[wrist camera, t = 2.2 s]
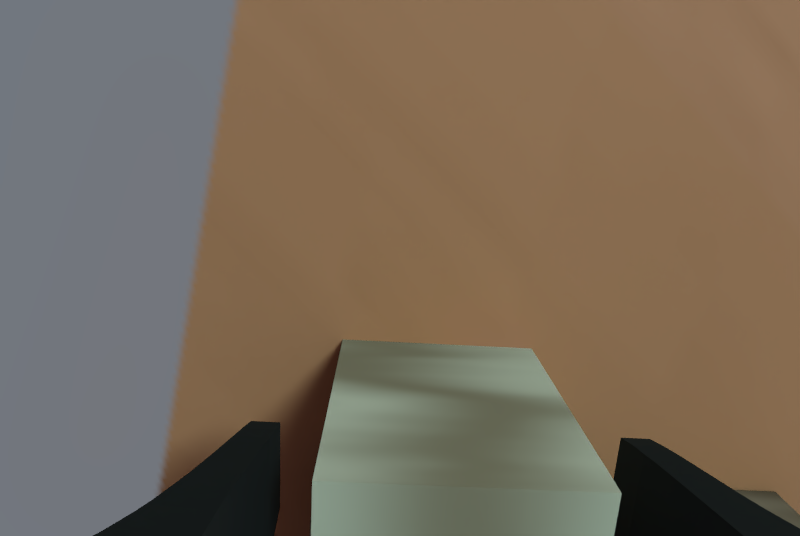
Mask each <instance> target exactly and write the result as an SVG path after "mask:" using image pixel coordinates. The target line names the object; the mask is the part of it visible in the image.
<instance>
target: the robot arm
mask: <svg viewBox="0 0 800 536" xmlns="http://www.w3.org/2000/svg"><path fill="white" fill-rule="evenodd" d="M614 482H615V483H616V485H617V486H618V488H619V490H620V491H621V493H622V495H621V500H620V506H619V511H618V517H617V522H616V528H615V533H614V536H800V528H798V527H796V526H794V525H793V524H791V523H789V522H787V521H786V520H784V519H782V518H780V517H779V516H777V515H775V514H773V513H772V512H770V511H768V510H766V509H765V508H763V507H761V506H760V505H758V504H756V503H755V502H753V501H751V500H750V499H748V498H746V497H745V496H743V495H741V494H740V493H738V492H736V491H735V490H733V489H732V488H730V487H728V486H727V485H725V484H724V483H722V482H720V481H719V480H717V479H716V478H714V477H712V476H711V475H709V474H708V473H706V472H704V471H703V470H701V469H700V468H698V467H697V466H695V465H693V464H692V463H690V462H689V461H687V460H685V459H684V458H682V457H681V456H679V455H677V454H676V453H674V452H672V451H671V450H669V449H667V448H666V447H664V446H662V445H660V444H658V443H656V442H654V441H652V440H650V439H637V438H621V441H620V446H619V452H618V457H617V463H616V469H615V474H614ZM279 509H280V422H257V421H251V422H249V423H248V424H247V425H246V426H244V427H243V428H242V429H241V430H240V431H239V432H237V433H236V434H235V435H234V436H233V437H232V438H230V439H229V440H228V441H227V442H226V443H225V444H223V445H222V446H221V447H220V448H219V449H218V450H216V451H215V452H214V453H213V454H212V455H211V456H209V457H208V458H207V459H206V460H204V461H203V462H202V463H201V464H199V465H198V466H197V467H196V468H195V469H193V470H192V471H191V472H190V473H188V474H187V475H186V476H184V477H183V478H181V479H180V480H179V481H177V482H176V483H175V484H173V485H172V486H171V487H169V488H168V489H167V490H165V491H164V492H163V493H161V494H160V495H158V496H157V497H156V498H154V499H153V500H151V501H150V502H148V503H147V504H145V505H144V506H143V507H141V508H139V509H138V510H136V511H135V512H133V513H131V514H130V515H128V516H126V517H125V518H123V519H122V520H120V521H118V522H116V523H115V524H113V525H111V526H110V527H108V528H106V529H105V530H103V531H101V532H99V533H98V534H95V535H93V536H274V532H275V528H276V523H277V518H278V513H279Z"/></svg>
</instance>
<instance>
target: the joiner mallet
mask: <svg viewBox="0 0 800 536" xmlns="http://www.w3.org/2000/svg"><path fill="white" fill-rule="evenodd" d="M621 495H622V493H621V491H620V490H619V488H618V486H617V485H616V483H615V482H614V480H613V478H612V477H611V475H610V474H609V472H608V470H607V469H606V467H605V466H604V464H603V462H602V461H601V459H600V458H599V456H598V454H597V453H596V451H595V450H594V448H593V446H592V445H591V443H590V442H589V440H588V438H587V437H586V435H585V434H584V432H583V430H582V429H581V427H580V426H579V424H578V422H577V421H576V419H575V418H574V416H573V414H572V413H571V411H570V410H569V408H568V406H567V405H566V403H565V402H564V400H563V398H562V397H561V395H560V394H559V392H558V390H557V389H556V387H555V386H554V384H553V382H552V381H551V379H550V378H549V376H548V374H547V373H546V371H545V370H544V368H543V366H542V365H541V363H540V362H539V360H538V358H537V357H536V355H535V354H534V352H533V350H532V349H528V348H507V347H486V346H466V345H445V344H424V343H403V342H382V341H361V340H343V341H342V345H341V350H340V354H339V359H338V364H337V368H336V373H335V378H334V382H333V387H332V391H331V396H330V401H329V405H328V410H327V415H326V419H325V424H324V428H323V433H322V438H321V442H320V447H319V451H318V456H317V461H316V465H315V470H314V475H313V479H312V509H311V536H614V533H615V528H616V522H617V517H618V511H619V506H620V500H621Z"/></svg>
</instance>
